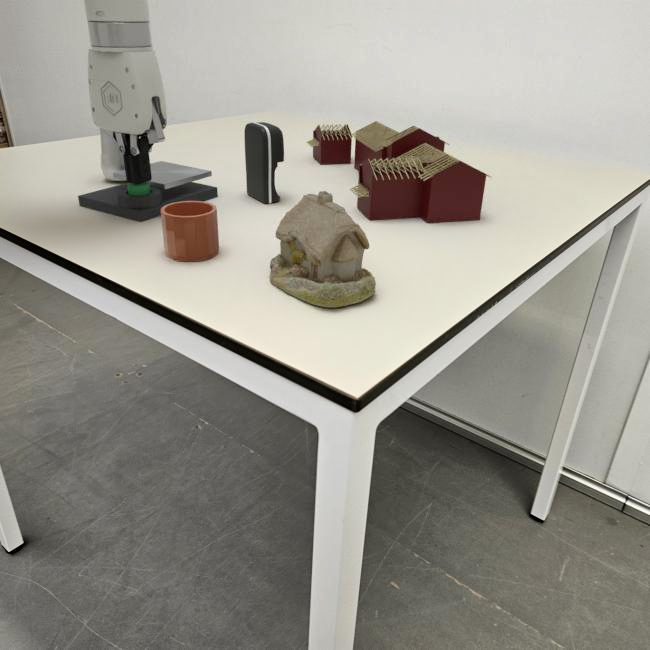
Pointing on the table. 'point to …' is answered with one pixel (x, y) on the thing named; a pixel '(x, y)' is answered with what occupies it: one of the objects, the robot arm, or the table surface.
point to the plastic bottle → (110, 157)
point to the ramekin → (190, 230)
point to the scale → (144, 200)
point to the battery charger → (263, 160)
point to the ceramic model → (321, 254)
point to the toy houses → (403, 173)
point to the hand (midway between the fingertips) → (139, 181)
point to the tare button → (139, 188)
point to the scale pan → (170, 174)
